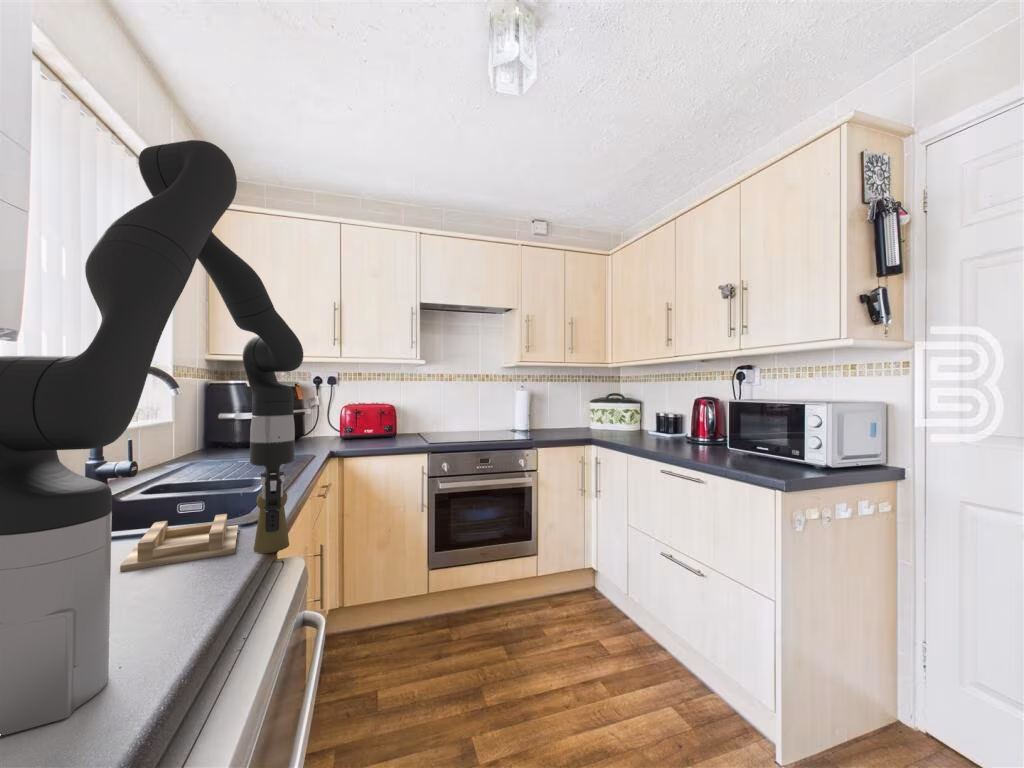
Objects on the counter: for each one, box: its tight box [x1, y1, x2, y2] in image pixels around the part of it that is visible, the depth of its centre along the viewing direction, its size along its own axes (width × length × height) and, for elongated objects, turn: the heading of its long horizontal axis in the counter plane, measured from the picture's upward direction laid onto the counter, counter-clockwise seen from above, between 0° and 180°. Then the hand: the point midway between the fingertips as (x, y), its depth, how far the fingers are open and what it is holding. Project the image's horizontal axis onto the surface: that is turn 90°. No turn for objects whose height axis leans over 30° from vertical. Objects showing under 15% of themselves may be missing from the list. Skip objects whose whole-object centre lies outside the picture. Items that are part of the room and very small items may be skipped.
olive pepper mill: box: [253, 489, 290, 554], centre depth 83 cm, size 6×6×11 cm
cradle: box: [119, 513, 239, 573], centre depth 82 cm, size 16×16×4 cm
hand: (271, 527), depth 83 cm, fingers closed on olive pepper mill, 4 cm apart
